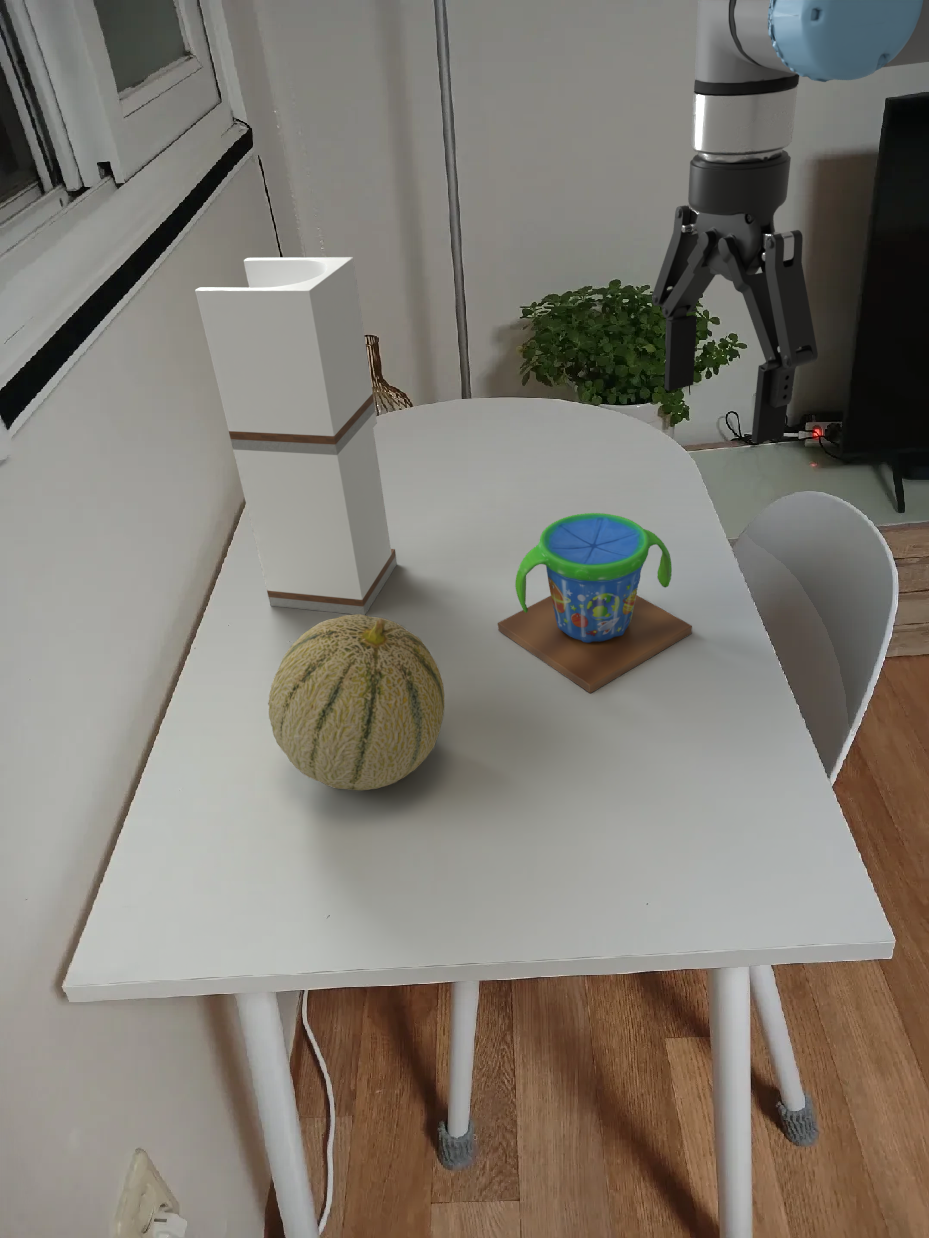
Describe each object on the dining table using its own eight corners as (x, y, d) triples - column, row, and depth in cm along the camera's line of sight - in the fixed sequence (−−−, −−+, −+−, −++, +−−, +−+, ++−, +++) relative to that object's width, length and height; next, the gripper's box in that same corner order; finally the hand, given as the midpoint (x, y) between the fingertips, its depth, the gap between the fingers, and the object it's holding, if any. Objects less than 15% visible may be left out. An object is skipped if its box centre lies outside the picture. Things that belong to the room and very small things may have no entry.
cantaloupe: (261, 753, 87) (225, 619, 78) (401, 690, 93) (381, 559, 84) (331, 855, 76) (297, 713, 68) (484, 777, 82) (471, 637, 74)
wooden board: (691, 633, 96) (692, 625, 96) (590, 693, 90) (590, 685, 90) (595, 579, 106) (595, 571, 105) (497, 630, 100) (497, 622, 99)
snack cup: (655, 586, 102) (658, 503, 96) (683, 644, 93) (689, 556, 88) (511, 604, 102) (505, 521, 96) (526, 664, 93) (521, 576, 87)
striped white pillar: (397, 564, 112) (353, 257, 92) (364, 615, 104) (309, 290, 84) (308, 556, 115) (247, 258, 95) (270, 605, 107) (194, 290, 87)
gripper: (897, 167, 65) (850, 453, 77) (691, 127, 84) (680, 360, 96) (805, 184, 63) (772, 475, 75) (616, 139, 82) (614, 376, 94)
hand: (720, 411), depth 85 cm, fingers open, 13 cm apart
